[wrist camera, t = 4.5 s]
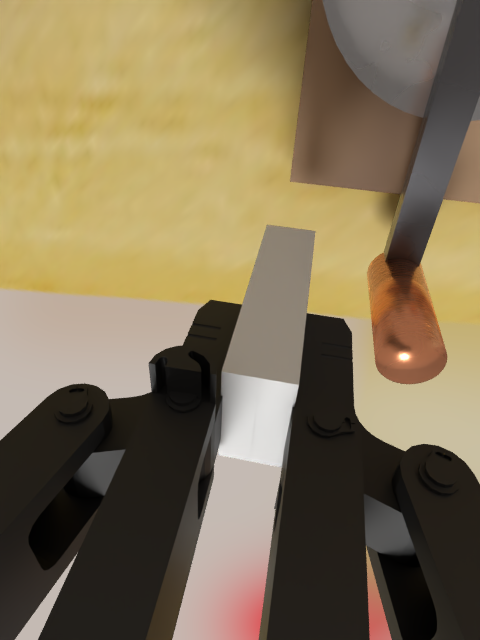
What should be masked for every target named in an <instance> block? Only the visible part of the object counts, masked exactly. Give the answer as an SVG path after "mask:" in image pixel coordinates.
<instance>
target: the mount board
mask: <svg viewBox="0 0 480 640" xmlns="http://www.w3.org/2000/svg"><path fill="white" fill-rule="evenodd" d="M422 119H423V118H422V117H418V116H415V115H412V114H409V113H406V112H404V111H402V110H400V109H398V108H396V107H394V106H392V105H390V104H388V103H387V102H385V101H384V100H382V99H381V98H380V97H378V96H377V95H375V94H374V93H373V92H372V91H371V90H370V89H368V88H367V87H366V86H365V85H364V84H363V83H362V82H361V81H360V80H359V79H358V77H357V76H356V75H355V73H354V72H353V71H352V69H351V68H350V67H349V65H348V64H347V63H346V61H345V59H344V57H343V55H342V54H341V52H340V50H339V48H338V46H337V45H336V42H335V40H334V37H333V34H332V32H331V29H330V27H329V24H328V21H327V17H326V13H325V9H324V5H323V1H322V0H312V8H311V16H310V24H309V32H308V40H307V48H306V56H305V65H304V73H303V81H302V89H301V97H300V105H299V113H298V121H297V129H296V137H295V145H294V153H293V161H292V170H291V178H290V182H299V183H307V184H316V185H325V186H333V187H342V188H351V189H360V190H368V191H377V192H386V193H394V194H401V191H402V188H403V184H404V181H405V178H406V174H407V171H408V167H409V164H410V160H411V157H412V154H413V150H414V147H415V143H416V140H417V136H418V133H419V129H420V126H421V123H422ZM443 199H446V200H455V201H464V202H472V203H480V120H476V121H471V122H470V125H469V128H468V130H467V133H466V136H465V139H464V142H463V144H462V147H461V150H460V153H459V156H458V158H457V161H456V164H455V167H454V170H453V172H452V175H451V178H450V181H449V184H448V186H447V189H446V192H445V195H444V198H443Z"/></svg>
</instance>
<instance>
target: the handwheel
mask: <svg viewBox="0 0 480 640" xmlns="http://www.w3.org/2000/svg"><path fill="white" fill-rule="evenodd" d="M322 1H323V5H324V9H325V13H326V17H327V21H328V24H329V27H330V29H331V32H332V34H333V37H334V40H335V42H336V45H337V46H338V48H339V50H340V52H341V54H342V55H343V57H344V59H345V61H346V63H347V64H348V65H349V67H350V68H351V69H352V71H353V72H354V73H355V75H356V76H357V77H358V79H359V80H360V81H361V82H362V83H363V84H364V85H365V86H366V87H367V88H368V89H370V90H371V91H372V92H373V93H374V94H375V95H377V96H378V97H380V98H381V99H382V100H384V101H385V102H387V103H388V104H390V105H392V106H394V107H396V108H398V109H400V110H402V111H404V112H406V113H409V114H412V115H415V116H418V117H422V118H423V119H422V123H421V126H420V129H419V133H418V136H417V140H416V143H415V147H414V150H413V154H412V157H411V160H410V164H409V167H408V171H407V174H406V178H405V181H404V184H403V188H402V191H401V195H400V198H399V202H398V205H397V209H396V212H395V215H394V219H393V222H392V226H391V229H390V233H389V236H388V240H387V243H386V246H385V250H384V253H382V254H380V255H379V256H377V257H376V258H375V259H374V260H373V261H372V262H371V264H370V266H369V268H368V272H367V277H368V288H369V299H370V309H371V320H372V331H373V341H374V351H375V362H376V367H377V369H378V371H379V372H380V373H381V374H382V375H383V376H384V377H386V378H387V379H389V380H391V381H393V382H397V383H401V384H416V383H421V382H425V381H428V380H430V379H432V378H434V377H435V376H437V375H438V374H439V373H440V372H441V371H442V370H443V369H444V367H445V365H446V362H447V353H446V349H445V346H444V342H443V339H442V336H441V332H440V328H439V325H438V321H437V318H436V314H435V311H434V308H433V304H432V301H431V297H430V294H429V290H428V287H427V283H426V280H425V276H424V273H423V269H422V266H421V263H420V262H421V259H422V257H423V254H424V251H425V248H426V245H427V243H428V240H429V237H430V234H431V231H432V229H433V226H434V223H435V220H436V217H437V215H438V212H439V209H440V206H441V203H442V201H443V198H444V195H445V192H446V189H447V186H448V184H449V181H450V178H451V175H452V172H453V170H454V167H455V164H456V161H457V158H458V156H459V153H460V150H461V147H462V144H463V142H464V139H465V136H466V133H467V130H468V128H469V125H470V122H471V121H476V120H480V0H322Z"/></svg>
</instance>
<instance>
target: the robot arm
mask: <svg viewBox="0 0 480 640" xmlns="http://www.w3.org/2000/svg"><path fill="white" fill-rule="evenodd" d="M314 239H315V231H311V230H304V229H296V228H288V227H281V226H273V225H267V227H266V230H265V233H264V236H263V240H262V243H261V246H260V249H259V252H258V256H257V259H256V262H255V265H254V269H253V272H252V275H251V278H250V281H249V285H248V288H247V291H246V294H245V298H244V301H243V304H242V305H241V304H234V303H228V302H221V301H215V300H210V301H209V302H208V303H206V304H205V305H204V306H203V307H201V308H200V309H199V310H198V312H197V314H196V316H195V319H194V321H193V324H192V326H191V328H190V330H189V332H188V336H187V337H186V339H185V342H184V344H183V346H176V347H172V348H168V349H165V350H163V351H161V352H160V353H158V354H156V355H155V356H154V357H153V359H152V360H151V361H150V362H149V370H150V380H151V388H152V392H150V393H147V394H145V395H142V396H137V397H129V398H119V399H108V397H107V395H106V393H105V392H104V391H103V390H101V389H100V388H99V387H97V386H94V385H89V384H73V385H69V386H67V387H64V388H61V389H59V390H57V391H55V392H54V393H52V394H51V395H50V396H48V397H47V398H46V399H45V400H44V401H43V402H42V403H40V404H39V405H38V406H37V407H36V408H35V409H34V410H33V411H32V412H31V413H30V414H28V416H26V417H25V418H24V419H23V420H22V421H21V422H20V423H19V424H18V425H17V426H16V427H14V428H13V429H12V430H11V431H10V432H9V433H8V434H7V435H6V436H5V437H4V438H3V439H1V440H0V640H15V638H16V637H17V636H18V634H19V633H20V631H21V630H22V629H23V627H24V626H25V624H26V623H27V622H28V620H29V619H30V618H31V616H32V615H33V614H34V612H35V611H36V609H37V608H38V606H39V605H40V604H41V602H42V601H43V600H44V598H45V597H46V596H47V594H48V593H49V591H50V590H51V589H52V587H53V586H54V585H55V583H56V582H57V580H58V579H59V577H60V576H61V575H62V573H63V572H64V571H65V569H66V568H67V567H68V565H69V564H70V562H71V561H72V560H73V558H74V557H75V556H76V554H77V553H78V554H77V556H76V558H75V560H74V563H73V565H72V567H71V569H70V571H69V573H68V576H67V578H66V580H65V582H64V584H63V587H62V589H61V591H60V593H59V595H58V597H57V600H56V602H55V604H54V606H53V608H52V610H51V613H50V615H49V617H48V619H47V621H46V623H45V626H44V628H43V630H42V632H41V634H40V636H39V639H38V640H172V638H173V634H174V630H175V626H176V622H177V618H178V615H179V611H180V607H181V603H182V599H183V595H184V591H185V587H186V583H187V580H188V576H189V572H190V567H191V564H192V560H193V556H194V552H195V548H196V544H197V540H198V537H199V533H200V529H201V525H202V521H203V517H204V513H205V509H206V505H207V501H208V498H209V494H210V490H211V486H212V482H213V477H214V463H215V459H216V455H217V451H218V448H219V452H218V455H221V456H225V457H230V458H236V459H241V460H246V461H251V462H257V463H261V464H267V465H272V466H277V467H282V471H281V478H280V483H279V488H278V493H277V498H276V503H275V508H274V509H276V510H275V518H274V525H273V534H272V541H271V548H270V556H269V564H268V572H267V579H266V587H265V595H264V603H263V611H262V618H261V626H260V634H259V640H369V615H368V614H369V613H368V590H367V564H366V546H367V550H368V553H369V557H370V561H371V565H372V568H373V572H374V575H375V579H376V583H377V587H378V590H379V594H380V598H381V601H382V605H383V609H384V612H385V616H386V620H387V623H388V627H389V630H390V634H391V638H392V640H480V484H479V482H478V480H477V479H476V477H475V475H474V474H473V472H472V471H471V469H470V468H469V467H468V465H467V464H466V463H465V462H464V461H463V460H462V459H460V458H459V457H458V456H457V455H455V454H454V453H453V452H451V451H448V450H446V449H444V448H442V447H439V446H435V445H428V444H421V445H416V446H412V447H410V448H409V449H408V450H407V451H403V450H401V449H398V448H396V447H394V446H392V445H389V444H387V443H385V442H383V441H382V440H380V439H378V438H376V437H375V436H373V435H372V434H371V433H370V432H368V431H367V430H366V429H365V428H364V427H363V425H362V424H361V423H360V422H359V420H358V418H357V416H356V414H355V409H354V393H353V362H352V359H353V357H352V332H351V331H350V329H349V327H348V326H347V324H346V323H345V321H344V319H341V318H334V317H328V316H321V315H314V314H308V313H307V305H308V296H309V286H310V277H311V267H312V258H313V249H314ZM78 551H79V552H78Z"/></svg>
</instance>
